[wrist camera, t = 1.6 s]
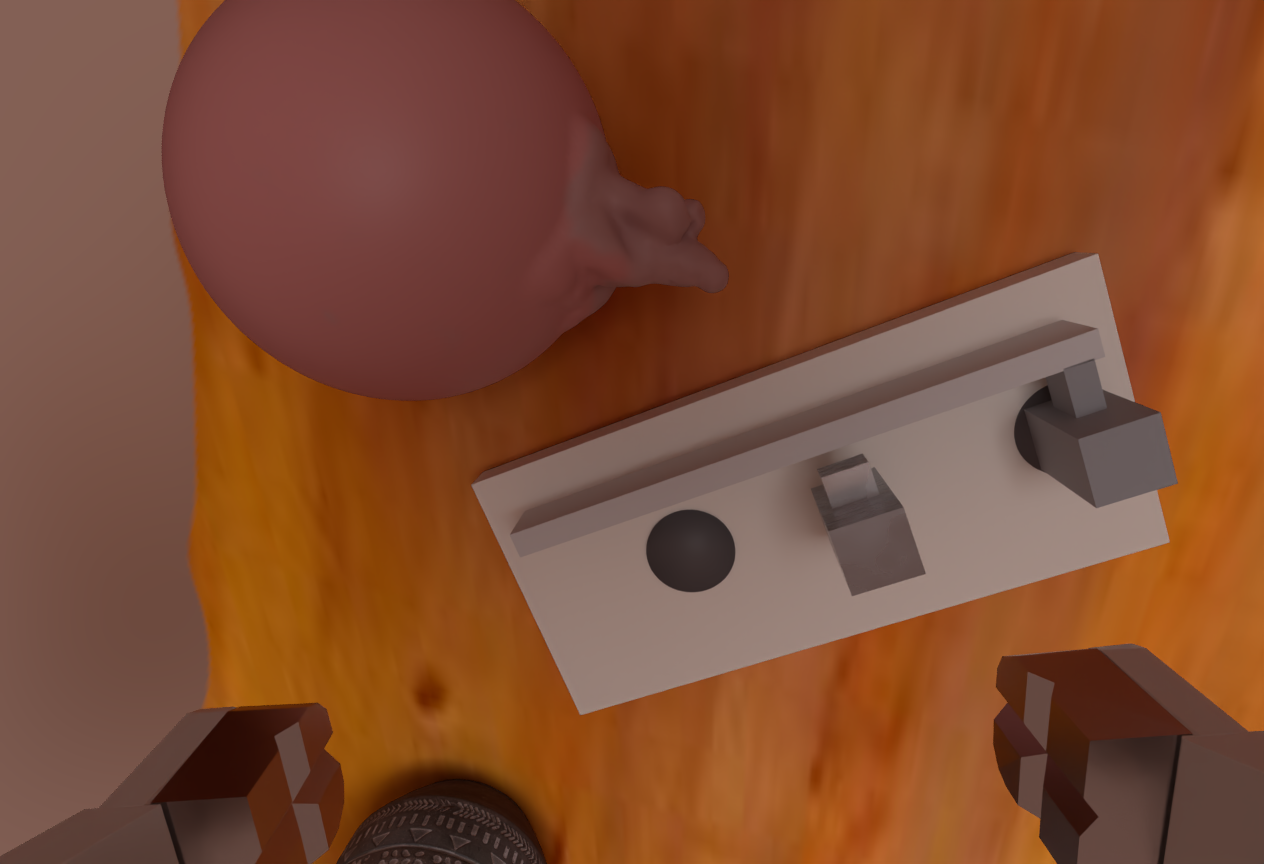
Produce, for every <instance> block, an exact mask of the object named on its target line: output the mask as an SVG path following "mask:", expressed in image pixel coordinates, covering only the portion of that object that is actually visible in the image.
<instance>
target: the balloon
mask: <svg viewBox="0 0 1264 864" xmlns="http://www.w3.org/2000/svg"><path fill="white" fill-rule="evenodd" d="M162 168H163V180H164V187H165V193H166V197H167V202H168V206H169V211H170V214H171V218H172V221H173V224H174V227H175V230H176V233H177V236H178V238H179V241H180V243H181V245H182V248H183V250H184V252H185V254H186V256H187V258H188V260H189V262H190V264H191V266H192V268H193V270H194V272H195V273H196V275H197V277H198V278H199V280H200V282H201V283H202V285H203V286H204V288H205V289H206V291H207V292H208V293H209V295H210V296H211V298H212V299H213V300H214V301H215V303H216V304H217V305H218V306H219V308H220V309H221V310H222V311H223V312H224V314H225V315H226V316H227V317H228V318H229V319H230V320H231V321H232V322H233V323H234V324H235V325H236V326H237V327H238V328H239V329H240V330H241V331H242V332H243V333H244V334H245V335H246V336H247V337H248V338H249V339H251V340H252V341H253V342H254V343H255V344H257V345H258V346H259V347H260V348H262V349H263V350H264V351H266V352H267V353H268V354H270V355H271V356H273V357H274V358H275V359H277V360H278V361H280V362H282V363H283V364H285V365H287V366H288V367H290V368H292V369H293V370H295V371H297V372H299V373H301V374H303V375H305V376H307V377H309V378H311V379H313V380H315V381H318V382H320V383H323V384H325V385H328V386H331V387H333V388H336V389H339V390H343V391H346V392H350V393H354V394H358V395H362V396H367V397H372V398H379V399H388V400H406V401H418V400H432V399H440V398H447V397H452V396H456V395H461V394H464V393H468V392H472V391H475V390H478V389H481V388H483V387H486V386H489V385H491V384H493V383H496V382H498V381H500V380H502V379H504V378H506V377H508V376H510V375H511V374H513V373H515V372H517V371H518V370H520V369H522V368H523V367H525V366H526V365H527V364H529V363H530V362H532V361H533V360H534V359H536V358H537V357H538V356H539V355H541V354H542V353H543V352H544V351H545V350H546V349H548V348H549V347H550V346H551V345H552V344H553V343H554V342H555V341H556V340H557V339H558V338H559V337H560V336H561V335H562V333H564V332H565V331H567V330H569V329H571V328H573V327H574V326H576V325H577V324H579V323H580V322H581V321H582V320H584V319H585V318H586V317H588V316H589V315H591V314H593V313H594V312H596V311H597V310H598V309H600V308H601V307H602V306H603V305H604V304H605V303H606V302H607V301H608V299H609V298H610V296H611V295H612V294H613V292H614V290H615V288H616V287H626V286H630V287H640V286H643V285H647V284H653V283H656V284H663V285H671V286H679V287H690V286H696V287H699V288H701V289H702V290H704V291H705V292H708V293H715V292H719V291H721V290H723V289H724V288H725V287H726V285H727V283H728V277H729V274H728V269H727V267H726V266H725V265H724V264H723V263H722V262H721V261H720V260H719V259H718V258H717V257H716V256H715V254H714V253H712V252H711V251H710V250H709V249H708V248H706V247H705V246H704V245H703V244H701V243H700V242H698V240H697V237H698V234H699V232H700V231H701V230H702V228H703V227H704V224H705V211H704V208H703V206H702V205H701V203H700V202H699V201H697V200H694V199H686V200H684V199H683V197H682V196H681V195H680V194H679V193H678V192H677V191H675V190H674V189H672V188H669V187H654V188H650V189H646V188H644V187H642V186H640V185H637V184H635V183H633V182H631V181H629V180H626V179H625V178H623V177H622V176H621V175H620V174H619V171H618V168H617V164H616V161H615V158H614V155H613V153H612V151H611V149H610V147H609V145H608V143H607V142H606V138H605V135H604V131H603V128H602V124H601V121H600V118H599V115H598V113H597V110H596V108H595V105H594V103H593V101H592V98H591V96H590V94H589V92H588V90H587V88H586V86H585V84H584V82H583V80H582V78H581V77H580V75H579V73H578V71H577V70H576V68H575V67H574V65H573V63H572V62H571V60H570V59H569V57H568V56H567V55H566V53H565V52H564V50H563V49H562V48H561V46H560V45H559V44H558V43H557V41H556V40H555V39H554V38H553V37H552V35H551V34H550V33H549V32H548V31H547V30H546V29H545V28H544V27H543V26H542V25H541V24H540V22H539V21H537V20H536V19H535V18H534V17H533V16H532V15H531V14H530V13H529V12H528V11H527V10H526V9H525V8H524V7H522V6H521V5H520V4H519V3H518V2H516V1H515V0H225V1H224V2H223V3H222V4H221V5H220V6H219V7H218V8H217V9H216V10H215V11H214V13H213V14H212V15H211V16H210V17H209V18H208V20H207V21H206V22H205V23H204V25H203V26H202V27H201V29H200V30H199V31H198V33H197V34H196V36H195V37H194V39H193V41H192V42H191V44H190V46H189V47H188V49H187V51H186V53H185V55H184V57H183V59H182V61H181V63H180V65H179V68H178V70H177V72H176V75H175V78H174V81H173V83H172V87H171V90H170V93H169V97H168V102H167V106H166V111H165V117H164V124H163V133H162Z"/></svg>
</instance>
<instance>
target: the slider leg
mask: <svg viewBox="0 0 1264 864" xmlns="http://www.w3.org/2000/svg"><path fill="white" fill-rule="evenodd" d="M817 471H818V473H819V476H820V479H821V482H822V485H820V486H817V487H814V488H811V491H812V494H813V497H814V499H815V502H816V505H817V508H818V510H819V513H820V516H821V519H822V521H823V524H824V527H825V530H826V532H827V535H828V538H829V541H830V543H831V546H832V548H833V551H834V553H835V556H836V558H837V561H838V563H839V566H840V568H841V571H842V573H843V576H844V578H845V580H846V583H847V585H848V588H849V590H850V593H851V595H852V596H855V595H858V594H861V593H865V592H868V591H871V590H875V589H878V588H881V587H884V586H888V585H891V584H894V583H898V582H901V581H904V580H908V579H911V578H914V577H917V576H921V575H924V574H926V572H925V569H924V566H923V563H922V561H921V558H920V555H919V552H918V549H917V546H916V543H915V540H914V537H913V534H912V531H911V528H910V525H909V522H908V519H907V516H906V513H905V510H904V507H903V506H902V504H901V503H900V502H899V500H898V499H897V497H896V496H895V495H894V493H893V492H892V490H891V489H890V488H889V486H888V485H887V484H886V482H885V481H884V479H883V478H882V477H881V475H880V474H879V473H878V471H877V470H876V468H875V467H873V468H870V465H869V462H868V461H867V459H866V458H865V456H864V455H863V454H859V455H856V456H854V457H851V458H848V459H845V460H842V461H839V462H836V463H833V464H830V465H827V466H824V467H821V468H818V469H817Z"/></svg>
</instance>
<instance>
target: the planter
mask: <svg viewBox="0 0 1264 864" xmlns="http://www.w3.org/2000/svg"><path fill="white" fill-rule="evenodd" d="M336 864H547V863H546V860H545V857H544V854H543V852H542V849H541V847H540V844H539V842H538V840H537V838H536V835H535V833H534V831H533V829H532V827H531V826H530V824H529V822H528V820H527V818H526V816H525V815H524V813H523V812H522V810H521V809H520V808H519V807H518V805H517V804H516V803H515V802H514V801H512V800H511V799H510V798H509V797H508V796H506V795H505V794H503V793H502V792H500V791H499V790H497V789H495V788H493V787H491V786H488V785H486V784H483V783H480V782H476V781H471V780H462V779H453V780H444V781H440V782H436V783H434V784H431V785H428V786H425V787H423V788H420V789H418V790H415V791H413V792H410V793H408V794H406V795H404V796H402V797H400V798H398V799H396V800H394V801H392V802H390V803H388V804H387V805H385V806H383V807H382V808H380V809H378V810H377V811H376V812H374V813H373V814H371V815H370V816H369V817H368V818H367V819H366V820H365V821H364V822H363V823H362V824H361V825H360V826H359V828H358V829H357V830H356V832H355V834H354V835H353V837H352V838H351V840H350V841H349V843H348V845H347V846H346V848H345V850H344V851H343V853H342V855H341V856H340V858H339V860H338V861H337V863H336Z"/></svg>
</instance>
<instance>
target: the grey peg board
mask: <svg viewBox="0 0 1264 864" xmlns="http://www.w3.org/2000/svg"><path fill="white" fill-rule="evenodd" d="M859 454H863V455H864V456H865V458H866V459H867V461H868V462H869V465H870V468H873V467H875V468H876V470H877V471H878V473H879V474H880V475H881V477H882V478H883V479H884V481H885V482H886V484H887V485H888V486H889V488H890V489H891V490H892V492H893V493H894V495H895V496H896V497H897V499H898V500H899V502H900V503H901V504H902V506H903V507H904V510H905V513H906V516H907V519H908V522H909V525H910V528H911V531H912V534H913V537H914V540H915V543H916V546H917V549H918V552H919V555H920V558H921V561H922V563H923V566H924V569H925V572H926V574H924V575H921V576H917V577H914V578H911V579H908V580H904V581H901V582H898V583H894V584H891V585H888V586H884V587H881V588H878V589H875V590H871V591H868V592H865V593H861V594H858V595H855V596H852V595H851V593H850V590H849V588H848V585H847V583H846V580H845V578H844V576H843V573H842V571H841V568H840V566H839V563H838V561H837V558H836V556H835V553H834V551H833V548H832V546H831V543H830V541H829V538H828V535H827V532H826V530H825V527H824V524H823V521H822V519H821V516H820V513H819V510H818V508H817V505H816V502H815V499H814V497H813V494H812V491H811V488H814V487H817V486H820V485H822V482H821V479H820V476H819V473H818V471H817V469H818V468H821V467H824V466H827V465H830V464H833V463H836V462H839V461H842V460H845V459H848V458H851V457H854V456H856V455H859ZM1177 483H1178V482H1177V478H1176V474H1175V470H1174V466H1173V462H1172V458H1171V453H1170V449H1169V445H1168V441H1167V437H1166V433H1165V429H1164V424H1163V420H1162V416H1161V412H1158V411H1156V410H1153V409H1151V408H1148V407H1145V406H1143V405H1140V404H1138V403H1135V400H1134V396H1133V392H1132V388H1131V384H1130V380H1129V376H1128V372H1127V368H1126V364H1125V360H1124V356H1123V352H1122V348H1121V344H1120V340H1119V336H1118V332H1117V328H1116V324H1115V320H1114V316H1113V312H1112V308H1111V304H1110V300H1109V296H1108V292H1107V288H1106V284H1105V280H1104V276H1103V272H1102V268H1101V263H1100V259H1099V255H1098V253H1081V252H1074V253H1071V254H1068V255H1066V256H1063V257H1060V258H1058V259H1055V260H1052V261H1050V262H1047V263H1044V264H1042V265H1039V266H1036V267H1033V268H1031V269H1028V270H1025V271H1023V272H1020V273H1017V274H1015V275H1012V276H1009V277H1007V278H1004V279H1001V280H998V281H996V282H993V283H990V284H988V285H985V286H982V287H980V288H977V289H974V290H972V291H969V292H966V293H963V294H961V295H958V296H955V297H953V298H950V299H947V300H945V301H942V302H939V303H937V304H934V305H931V306H928V307H926V308H923V309H920V310H918V311H915V312H912V313H910V314H907V315H904V316H902V317H899V318H896V319H894V320H891V321H888V322H885V323H883V324H880V325H877V326H875V327H872V328H869V329H867V330H864V331H861V332H859V333H856V334H853V335H850V336H848V337H845V338H842V339H840V340H837V341H834V342H832V343H829V344H826V345H824V346H821V347H818V348H815V349H813V350H810V351H807V352H805V353H802V354H799V355H797V356H794V357H791V358H789V359H786V360H783V361H780V362H778V363H775V364H772V365H770V366H767V367H764V368H762V369H759V370H756V371H754V372H751V373H748V374H745V375H743V376H740V377H737V378H735V379H732V380H729V381H727V382H724V383H721V384H719V385H716V386H713V387H710V388H708V389H705V390H702V391H700V392H697V393H694V394H692V395H689V396H686V397H684V398H681V399H678V400H676V401H673V402H670V403H667V404H665V405H662V406H659V407H657V408H654V409H651V410H649V411H646V412H643V413H641V414H638V415H635V416H632V417H630V418H627V419H624V420H622V421H619V422H616V423H614V424H611V425H608V426H606V427H603V428H600V429H597V430H595V431H592V432H589V433H587V434H584V435H581V436H579V437H576V438H573V439H571V440H568V441H565V442H562V443H560V444H557V445H554V446H552V447H549V448H546V449H544V450H541V451H538V452H536V453H533V454H530V455H527V456H525V457H522V458H519V459H517V460H514V461H511V462H509V463H506V464H503V465H501V466H498V467H495V468H492V469H490V470H487V471H484V472H482V474H481V475H480V476H479V477H478V478H477V479H476V480H475V481H474V482H473V483H472V484H471V486H472V488H473V490H474V492H475V494H476V496H477V498H478V500H479V503H480V505H481V507H482V509H483V511H484V513H485V515H486V517H487V519H488V521H489V524H490V526H491V528H492V530H493V532H494V534H495V536H496V538H497V540H498V543H499V545H500V547H501V549H502V551H503V553H504V555H505V557H506V559H507V561H508V564H509V566H510V568H511V570H512V572H513V574H514V576H515V578H516V580H517V583H518V585H519V587H520V589H521V591H522V593H523V595H524V597H525V599H526V602H527V604H528V606H529V608H530V610H531V612H532V614H533V616H534V618H535V620H536V623H537V625H538V627H539V629H540V631H541V633H542V635H543V637H544V639H545V642H546V644H547V646H548V648H549V650H550V652H551V654H552V656H553V658H554V660H555V663H556V665H557V667H558V669H559V671H560V673H561V675H562V677H563V679H564V682H565V684H566V686H567V688H568V690H569V692H570V694H571V696H572V698H573V700H574V703H575V705H576V707H577V709H578V711H579V713H580V715H583V714H586V713H590V712H593V711H596V710H600V709H603V708H607V707H610V706H613V705H617V704H620V703H624V702H627V701H630V700H634V699H637V698H641V697H644V696H648V695H651V694H654V693H658V692H661V691H665V690H668V689H671V688H675V687H678V686H682V685H685V684H688V683H692V682H695V681H699V680H702V679H705V678H709V677H712V676H716V675H719V674H723V673H726V672H729V671H733V670H736V669H740V668H743V667H746V666H750V665H753V664H757V663H760V662H763V661H767V660H770V659H774V658H777V657H780V656H784V655H787V654H791V653H794V652H798V651H801V650H804V649H808V648H811V647H815V646H818V645H821V644H825V643H828V642H832V641H835V640H838V639H842V638H845V637H849V636H852V635H855V634H859V633H862V632H866V631H869V630H873V629H876V628H879V627H883V626H886V625H890V624H893V623H896V622H900V621H903V620H907V619H910V618H913V617H917V616H920V615H924V614H927V613H930V612H934V611H937V610H941V609H944V608H948V607H951V606H954V605H958V604H961V603H965V602H968V601H971V600H975V599H978V598H982V597H985V596H988V595H992V594H995V593H999V592H1002V591H1005V590H1009V589H1012V588H1016V587H1019V586H1023V585H1026V584H1029V583H1033V582H1036V581H1040V580H1043V579H1046V578H1050V577H1053V576H1057V575H1060V574H1063V573H1067V572H1070V571H1074V570H1077V569H1080V568H1084V567H1087V566H1091V565H1094V564H1098V563H1101V562H1104V561H1108V560H1111V559H1115V558H1118V557H1121V556H1125V555H1128V554H1132V553H1135V552H1138V551H1142V550H1145V549H1149V548H1152V547H1155V546H1159V545H1162V544H1166V543H1169V542H1170V541H1169V537H1168V533H1167V529H1166V525H1165V521H1164V517H1163V513H1162V509H1161V505H1160V501H1159V497H1158V493H1157V490H1158V489H1161V488H1164V487H1168V486H1171V485H1174V484H1177Z"/></svg>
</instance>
